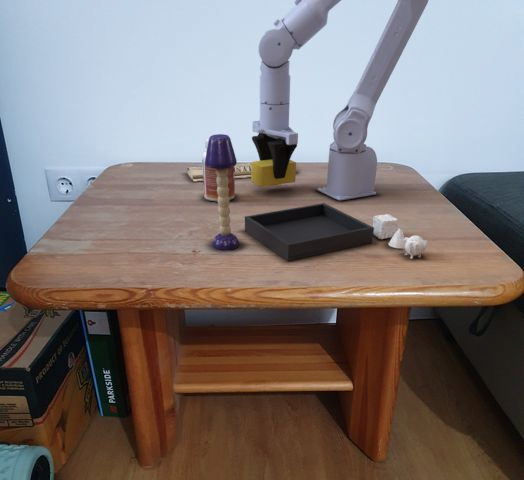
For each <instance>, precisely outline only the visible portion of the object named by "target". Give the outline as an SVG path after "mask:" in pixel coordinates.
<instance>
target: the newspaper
mask: <svg viewBox="0 0 524 480" xmlns="http://www.w3.org/2000/svg"><path fill="white" fill-rule="evenodd" d="M186 172H187V175H188V177H189V178H190V179H191V180H192V181H193V182H203V166H194V167H186ZM234 178H235V179H241V178H242V179H243V178H251V162H250V163H236V165H235V166H234Z"/></svg>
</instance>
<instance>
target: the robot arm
mask: <svg viewBox="0 0 524 480" xmlns="http://www.w3.org/2000/svg"><path fill="white" fill-rule="evenodd" d="M341 1H342V0H294V7H292V8H291V9H290V10H289V11H288V12H287V13H286V14H285V15H284V16H283V17H282V18H281V19H278V18H277V19H276V20H275V21H273V25H274V27H275V28H271V29H268V30H266V31H265V32H264V35H263V36H262V37H261V38H260V40H259V43H258V55H259V58H260V59H261V61H260V67H259V70H260V75H259V120H254V121H253V120H252V132H253V133H256V134H257V135H253V136H251V140H252V143H253V144H254V147H255V149H256V151H257V155H258V158H259V161H262V160H270V159H272V160H273V172H274V177H275V178H276V179H279V178H285V175H286V171H287V167H288V164H289V161H290V160H291V158H292V156H293V154H294V152H295V150H296V149H297V147H298V144H299V133H298V132H296V131H294V130H293V129H292V128H291V127H290V101H291V75H290V59H291V56H292V55H293V51H294V50H300V49H301V48H302V47H303V46H305V44H307V43H308V42H309V41H310V40H311V39H312V38H314V36H316V35H317V34H318V33H319V32H320V31H321V30H322V29H324V28H325V26H326V25H327V23H328V16H329V12H330V11H331V10H332V9H333V8H334V7H335V6H337V4H339V3H340V2H341ZM428 3H429V0H397V3H396V4H395V7H394V9H393V11H392V13H391V15H390V16H389V19H388V21H387V23H386V25H385V27H384V30H383V31H382V33H381V35H380V37H379V39H378V42H377V44H376V46H375V48H374V50H373V52H372V54H371V56H370V58H369V61H368V62H367V65H366V67H365V69H364V71H363V73H362V74H361V76H360V79H359V81H358V83H357V85H356V87H355V89H354V91H353V92H352V94H351V96H350V97H349V99H348V101H347V104H345V107H344V108H343V109H341V110H340V111H338V113H337V114H336V115H335V117H334V120H333V124H332V126H333V127H332V128H333V132H332V133H333V134H332V136H333V142H332V143H330V144H329V150H328V161H327V175H326V186H323V187H318V188H317V191H318V192H320V193H322V194H324V195H326V196H328V197H331V198H333V199H334V200H337V201H346V200H351V199H352V200H353V199H358V198H363V197H369V196H375V195H377V192H376V191H375V183H376V176H377V170H378V169H377V167H378V158H377V153H376V150H374V148H372V147H371V146H367V144H365V143H366V140H367V138H368V127H369V123H370V121H371V119H372V117H373V114H374V111H375V108H376V105H377V103H378V101H379V100H380V97H381V95H382V93H383V91H384V90H385V87H386V86H387V84H388V81H389V79H390V77H391V75H393V72H394V70H395V68H396V66H397V64H398V62H399V60H400V59H401V56H402V55H403V52H404V50H405V48H406V46H407V44H408V43H409V41H410V39H411V37H412V35H413V33H414V30H415V28H416V27H417V24H418V23H419V21H420V19H421V17H422V15H423V13H424V11H425V9H426V7H427V5H428Z"/></svg>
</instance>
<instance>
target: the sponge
mask: <svg viewBox="0 0 524 480" xmlns="http://www.w3.org/2000/svg"><path fill="white" fill-rule="evenodd" d="M250 163H251V177H250V182H251V183H252V184H255V185H257V186H259V187H261V188H266V187H272V186H279V185H285V184H291V183H296V177H297V175H296V173H297V172H296V171H297V162H296V161H294V160H292V159H290V161H289V164H288V167H287V171H286V175H285V178H279V179H276V178H275V177H274V172H273V160H272V159H270V160H262V161H260V160H256V161H251V162H250Z"/></svg>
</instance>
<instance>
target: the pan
mask: <svg viewBox="0 0 524 480" xmlns="http://www.w3.org/2000/svg"><path fill="white" fill-rule="evenodd" d="M373 231H374V227H372V225H370V224H367V223H365V222H364V221H361V220H360V219H357V218H355V217H353V216H351V215H349V214H348V213H346V212H343V211H341V210H339V209H338V208H335V207H333V206H331V205H330V204H327V203H326V202H321V203H317V204H311V205H305V206H299V207H294V208H293V207H292V208H287V209H280V210H275V211H269V212H263V213H258V214H257V213H256V214H252V215H246V216H244V232H245V233H247V234H248V235H249V236H251V237H252V238H254V239H255V240H257V241H258V242H260V243H261V244H262V245H264V246H265V247H267V248H268V249H269V250H271V251H272V252H274V253H276V255H279V256H280V257H281V258H282V259H284V260H285V261H287V262H290V261H296V260H299V259H303V258H308V257H313V256H318V255H322V254H327V253H331V252H336V251H340V250H344V249H349V248H354V247H358V246H363V245H368V244H372V243H373V239H374V234H373Z"/></svg>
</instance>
